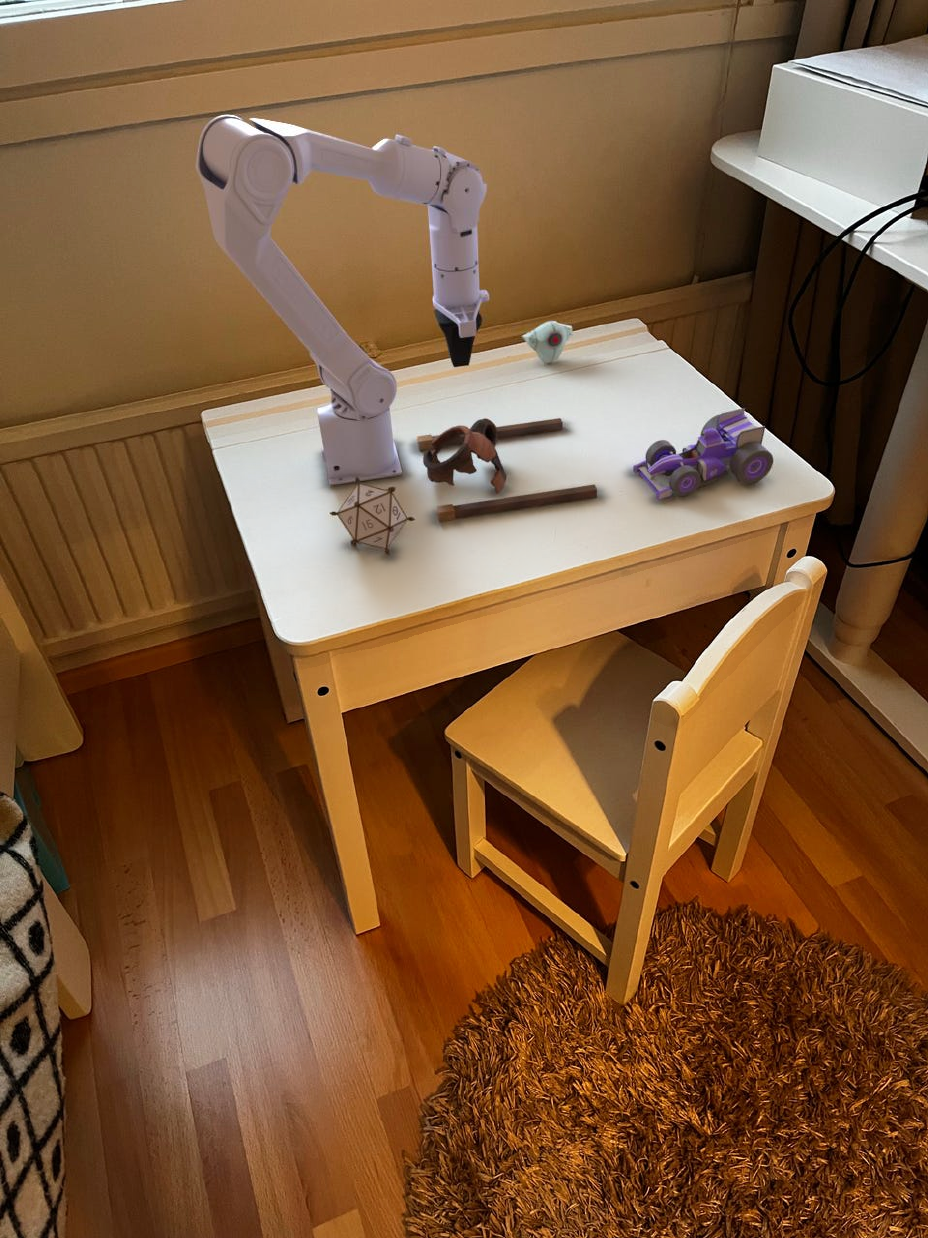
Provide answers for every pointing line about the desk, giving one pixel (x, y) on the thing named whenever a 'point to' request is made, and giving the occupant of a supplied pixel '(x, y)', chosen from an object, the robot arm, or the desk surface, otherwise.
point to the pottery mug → (466, 453)
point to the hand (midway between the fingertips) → (460, 363)
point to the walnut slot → (517, 501)
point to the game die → (372, 516)
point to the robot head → (548, 340)
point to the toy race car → (709, 456)
